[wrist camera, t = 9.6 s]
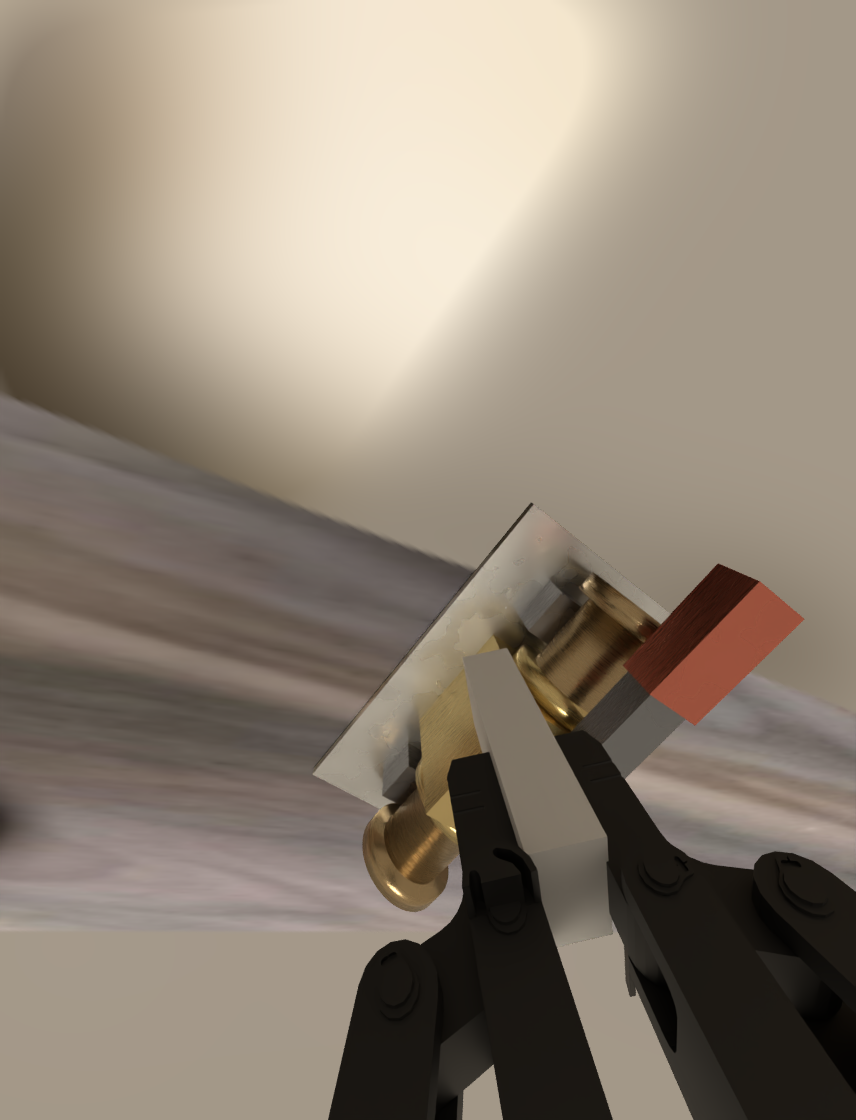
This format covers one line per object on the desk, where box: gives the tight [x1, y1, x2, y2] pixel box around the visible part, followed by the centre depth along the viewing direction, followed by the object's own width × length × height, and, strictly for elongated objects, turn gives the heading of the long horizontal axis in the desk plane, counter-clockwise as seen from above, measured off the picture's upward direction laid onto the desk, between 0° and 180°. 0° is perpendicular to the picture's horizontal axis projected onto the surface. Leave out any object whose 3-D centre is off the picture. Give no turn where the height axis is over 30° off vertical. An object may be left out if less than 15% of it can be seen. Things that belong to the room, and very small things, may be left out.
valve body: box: [313, 503, 670, 912], centre depth 26 cm, size 24×14×8 cm, turn 143°
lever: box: [570, 564, 804, 779], centre depth 19 cm, size 16×4×2 cm, turn 144°
